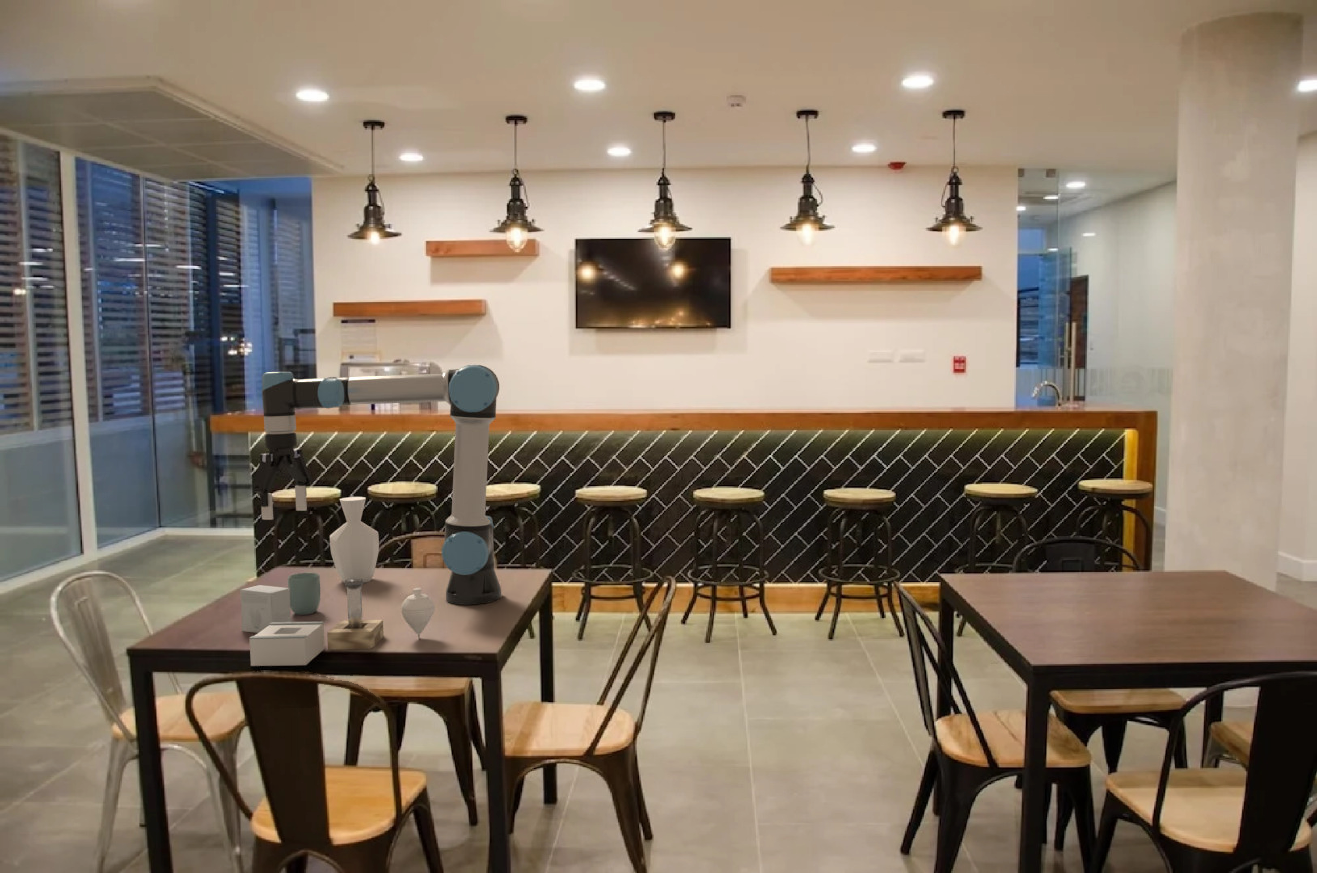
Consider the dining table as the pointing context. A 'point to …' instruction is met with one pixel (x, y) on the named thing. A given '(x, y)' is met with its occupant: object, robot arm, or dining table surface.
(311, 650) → the socket
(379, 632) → the mount
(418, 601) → the spinning top
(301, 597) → the cup
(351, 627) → the pin
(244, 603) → the skincare box
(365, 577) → the vase
